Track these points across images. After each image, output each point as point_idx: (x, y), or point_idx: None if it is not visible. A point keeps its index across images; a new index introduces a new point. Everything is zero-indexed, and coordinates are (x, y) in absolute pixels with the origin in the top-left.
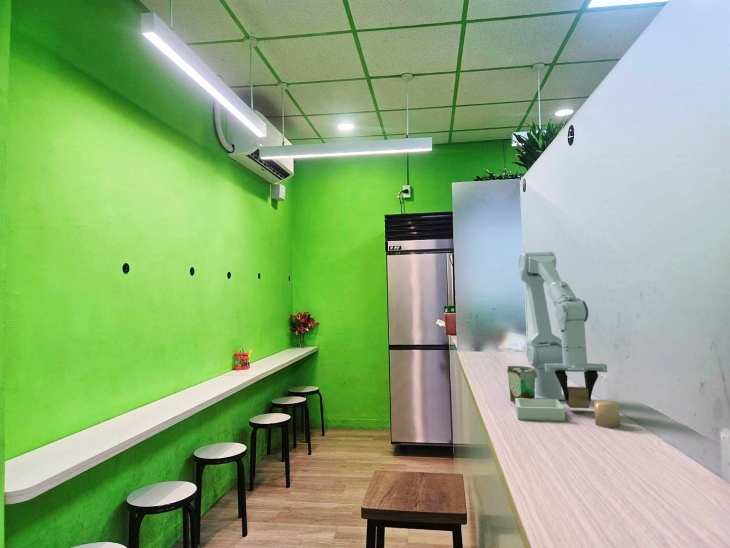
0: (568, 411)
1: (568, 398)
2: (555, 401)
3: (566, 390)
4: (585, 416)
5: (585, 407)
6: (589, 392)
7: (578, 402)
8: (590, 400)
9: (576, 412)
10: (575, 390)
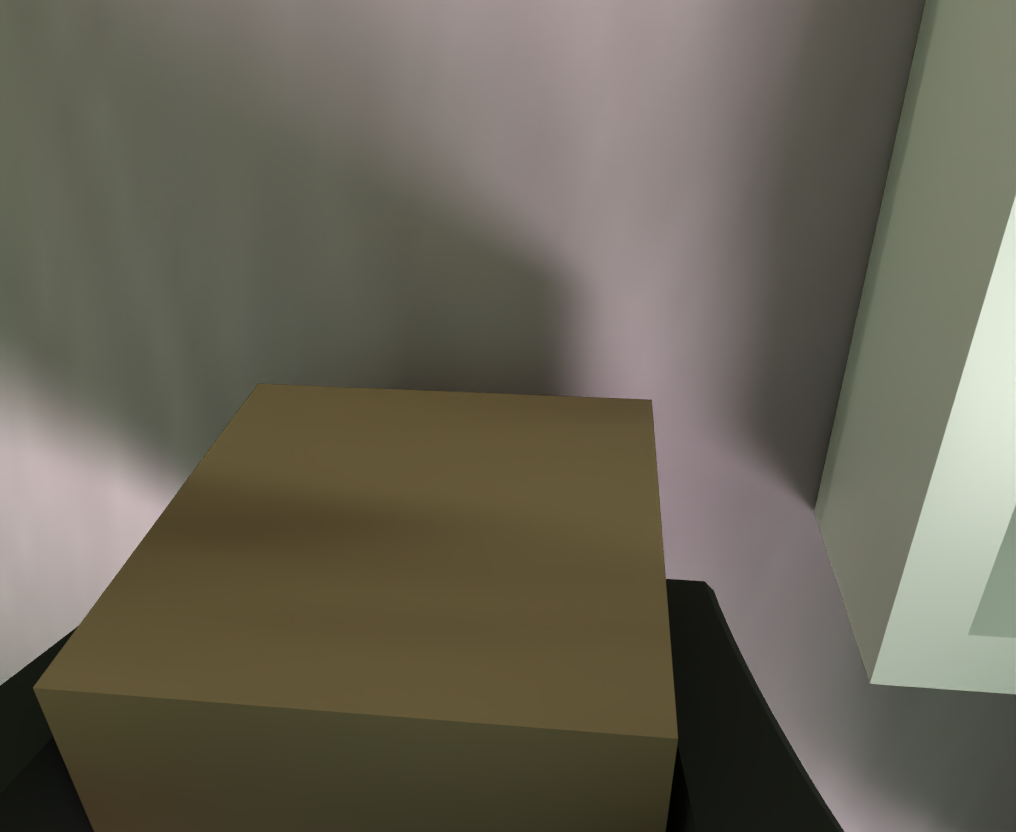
0: None
1: None
2: (989, 538)
3: (724, 776)
4: (393, 140)
5: (329, 396)
6: None
7: (445, 461)
8: None
9: None
10: (446, 701)
